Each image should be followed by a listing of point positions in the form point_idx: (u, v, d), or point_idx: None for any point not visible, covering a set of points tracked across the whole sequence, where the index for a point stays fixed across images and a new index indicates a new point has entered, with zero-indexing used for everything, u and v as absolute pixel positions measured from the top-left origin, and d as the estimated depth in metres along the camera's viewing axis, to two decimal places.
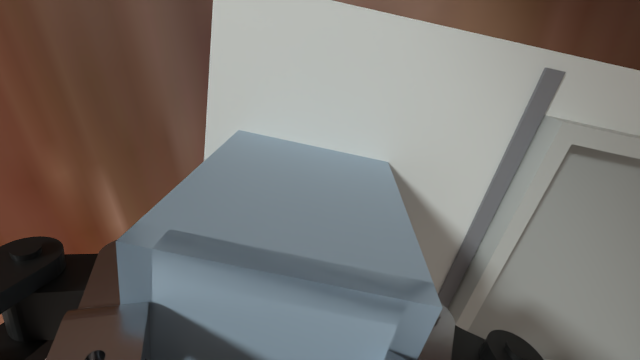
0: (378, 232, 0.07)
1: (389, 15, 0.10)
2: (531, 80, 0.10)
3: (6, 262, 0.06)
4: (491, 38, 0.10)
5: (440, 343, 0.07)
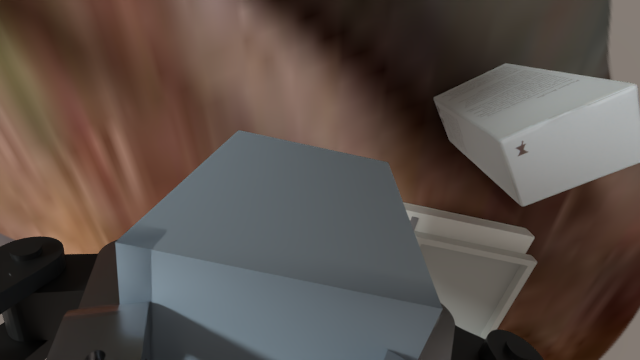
0: (378, 233, 0.07)
1: None
2: None
3: (6, 262, 0.06)
4: None
5: (440, 343, 0.07)
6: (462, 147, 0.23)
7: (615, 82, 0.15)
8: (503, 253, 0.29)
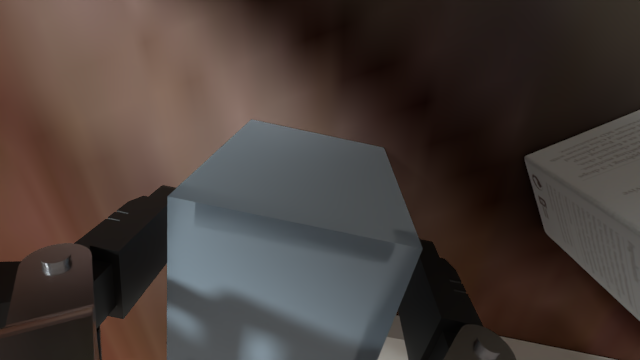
0: (373, 198, 0.09)
1: None
2: None
3: None
4: None
5: None
6: (611, 282, 0.10)
7: None
8: None
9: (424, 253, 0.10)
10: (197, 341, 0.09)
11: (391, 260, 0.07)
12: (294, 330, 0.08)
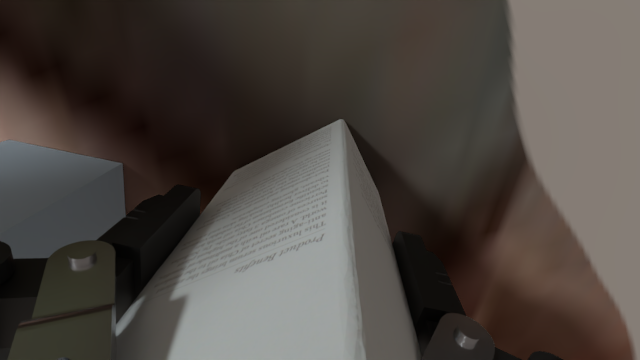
0: (8, 209, 0.11)
1: None
2: None
3: None
4: None
5: None
6: None
7: (339, 313, 0.04)
8: None
9: (411, 246, 0.10)
10: None
11: None
12: None
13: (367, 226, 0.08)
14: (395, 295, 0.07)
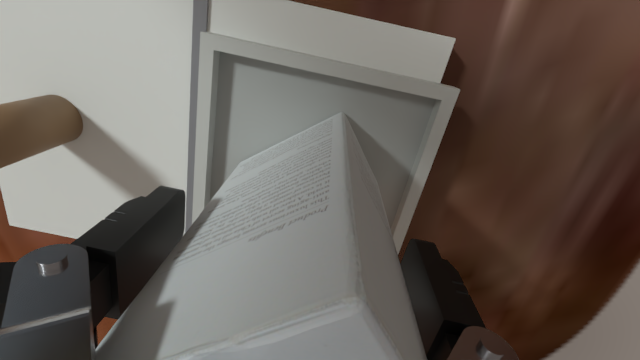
0: None
1: None
2: (189, 3, 0.14)
3: None
4: None
5: None
6: None
7: (342, 261, 0.05)
8: (389, 73, 0.14)
9: (426, 254, 0.10)
10: None
11: None
12: None
13: (366, 203, 0.09)
14: (391, 264, 0.08)
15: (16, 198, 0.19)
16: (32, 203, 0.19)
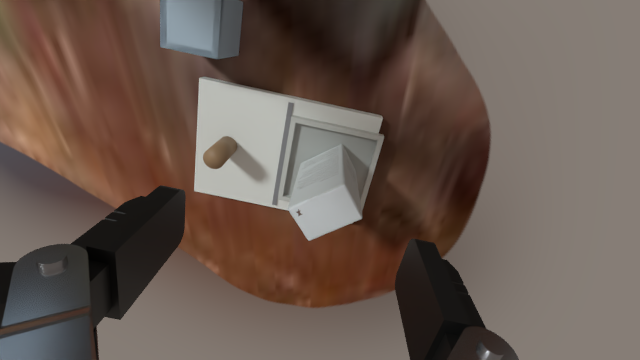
0: None
1: (245, 88, 0.38)
2: (286, 105, 0.38)
3: None
4: (272, 94, 0.38)
5: None
6: None
7: (341, 180, 0.29)
8: (359, 130, 0.38)
9: (426, 254, 0.10)
10: (168, 34, 0.31)
11: None
12: (194, 27, 0.30)
13: (348, 174, 0.33)
14: (354, 188, 0.32)
15: (200, 178, 0.43)
16: (207, 180, 0.43)
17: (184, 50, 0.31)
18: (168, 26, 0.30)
